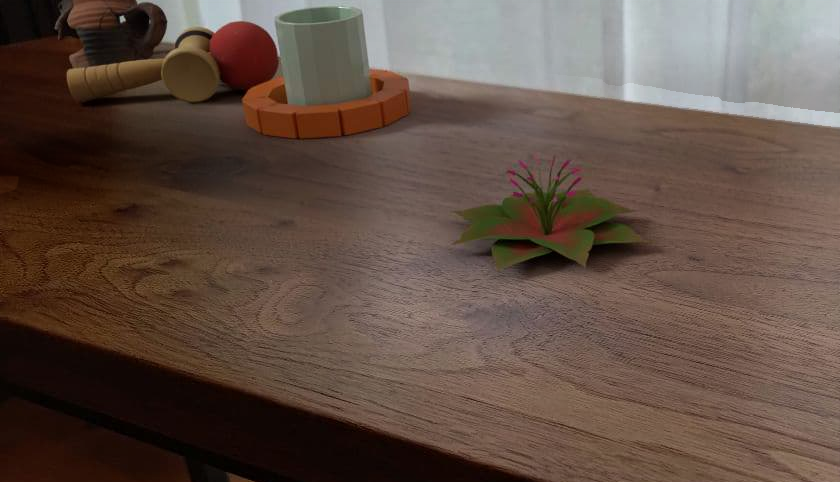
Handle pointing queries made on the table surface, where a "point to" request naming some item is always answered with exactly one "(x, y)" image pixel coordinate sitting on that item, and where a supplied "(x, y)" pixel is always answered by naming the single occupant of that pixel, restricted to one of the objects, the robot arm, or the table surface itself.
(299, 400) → the table surface
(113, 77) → the kendama
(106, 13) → the pottery mug
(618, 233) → the lily flower
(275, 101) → the ring
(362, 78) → the cup
